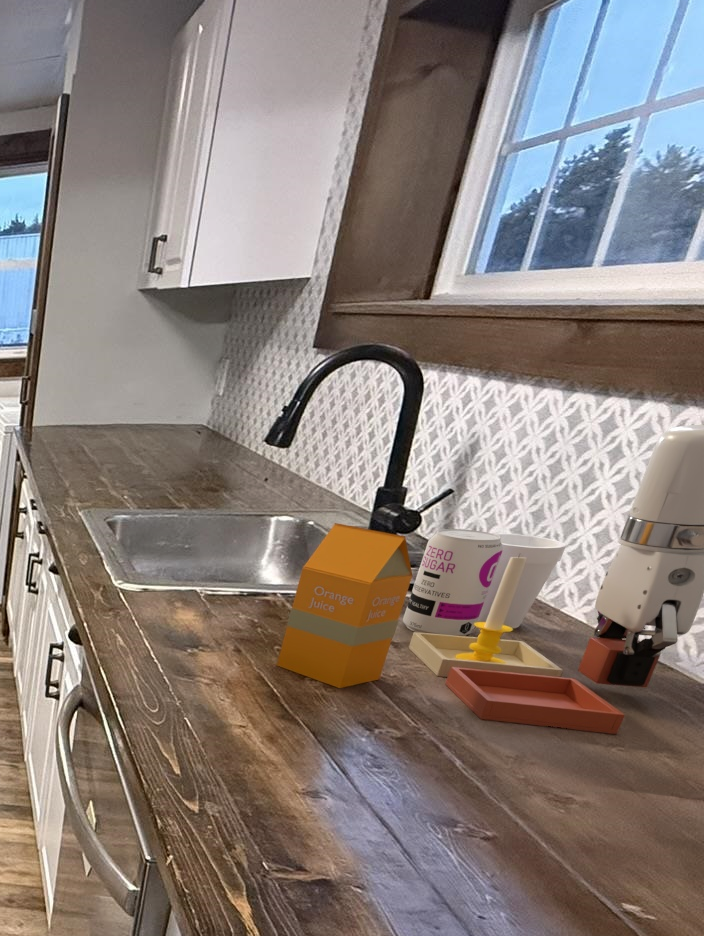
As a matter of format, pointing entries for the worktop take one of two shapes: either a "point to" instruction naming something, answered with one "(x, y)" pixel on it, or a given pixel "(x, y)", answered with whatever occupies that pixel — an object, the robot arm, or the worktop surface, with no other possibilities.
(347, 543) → the orange juice
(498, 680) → the terracotta tray
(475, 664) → the cream tray
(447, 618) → the supplement can
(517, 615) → the foam cup
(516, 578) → the candle
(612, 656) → the terracotta block
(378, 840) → the worktop surface
